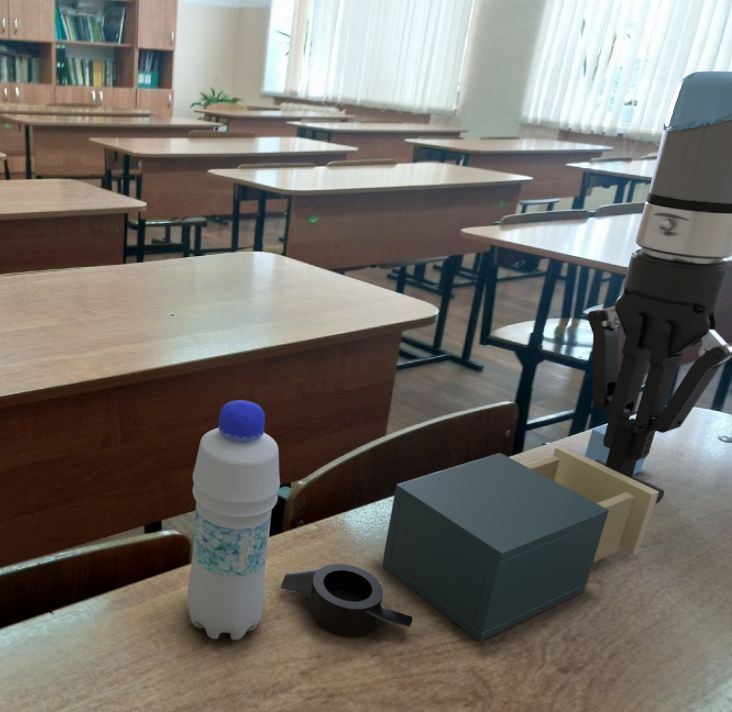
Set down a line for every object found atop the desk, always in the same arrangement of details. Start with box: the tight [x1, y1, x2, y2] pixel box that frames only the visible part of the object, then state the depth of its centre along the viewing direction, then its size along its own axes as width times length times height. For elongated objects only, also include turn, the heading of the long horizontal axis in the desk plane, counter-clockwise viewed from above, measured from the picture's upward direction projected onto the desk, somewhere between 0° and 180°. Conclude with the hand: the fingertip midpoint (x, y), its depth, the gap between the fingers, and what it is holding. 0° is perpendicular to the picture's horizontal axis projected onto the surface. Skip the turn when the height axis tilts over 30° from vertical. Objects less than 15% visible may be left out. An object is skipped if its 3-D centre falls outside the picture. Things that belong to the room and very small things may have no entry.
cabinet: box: [381, 452, 609, 643], centre depth 66 cm, size 14×11×9 cm
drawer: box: [523, 445, 665, 563], centre depth 72 cm, size 18×10×7 cm, turn 120°
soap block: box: [584, 424, 646, 475], centre depth 89 cm, size 5×5×5 cm
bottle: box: [187, 399, 281, 641], centre depth 57 cm, size 7×7×20 cm
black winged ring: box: [280, 563, 413, 639], centre depth 62 cm, size 8×10×3 cm
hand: (615, 480), depth 75 cm, fingers closed
